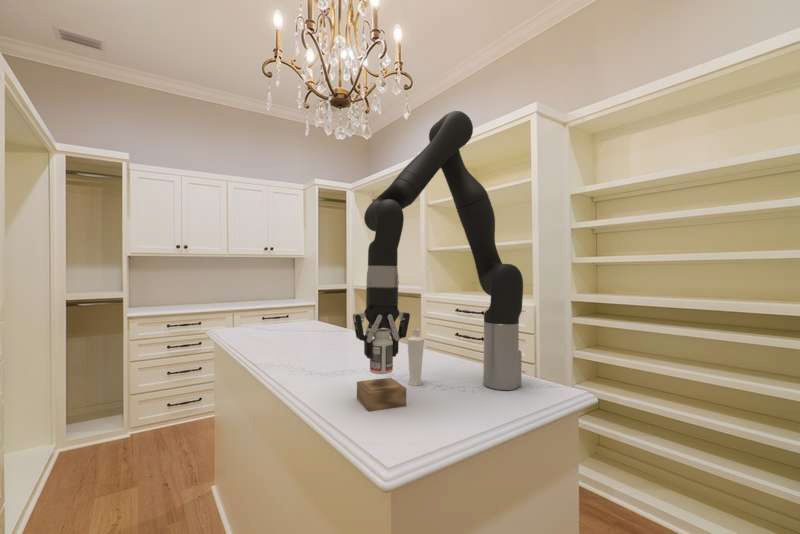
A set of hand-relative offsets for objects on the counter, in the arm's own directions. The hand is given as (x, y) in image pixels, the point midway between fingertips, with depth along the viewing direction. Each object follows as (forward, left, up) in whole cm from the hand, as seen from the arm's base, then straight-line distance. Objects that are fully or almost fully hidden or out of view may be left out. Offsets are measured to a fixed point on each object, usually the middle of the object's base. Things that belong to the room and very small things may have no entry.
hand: (381, 356), depth 86 cm
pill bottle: (0, 0, -4) cm, 4 cm away
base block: (0, 0, -11) cm, 11 cm away
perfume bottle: (-14, -10, -11) cm, 20 cm away
